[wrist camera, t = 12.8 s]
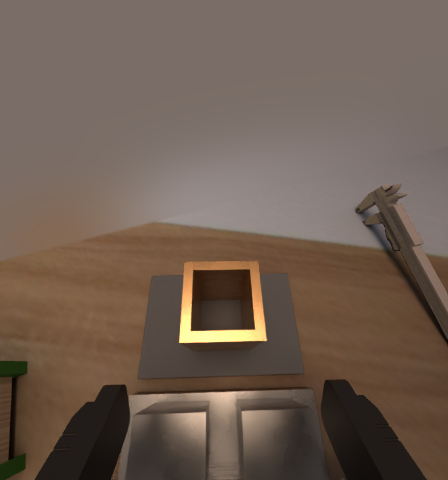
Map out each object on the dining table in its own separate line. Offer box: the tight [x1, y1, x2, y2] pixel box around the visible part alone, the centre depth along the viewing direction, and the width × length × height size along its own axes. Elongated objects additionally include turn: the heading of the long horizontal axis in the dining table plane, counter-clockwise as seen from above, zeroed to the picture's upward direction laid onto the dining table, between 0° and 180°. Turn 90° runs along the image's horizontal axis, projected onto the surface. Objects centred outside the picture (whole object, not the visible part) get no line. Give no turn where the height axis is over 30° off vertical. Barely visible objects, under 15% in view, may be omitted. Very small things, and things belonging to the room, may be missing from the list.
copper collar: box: [179, 261, 267, 351], centre depth 18 cm, size 5×5×8 cm
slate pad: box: [138, 273, 304, 379], centre depth 21 cm, size 14×9×1 cm, turn 92°
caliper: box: [356, 184, 448, 340], centre depth 21 cm, size 20×1×6 cm, turn 16°
